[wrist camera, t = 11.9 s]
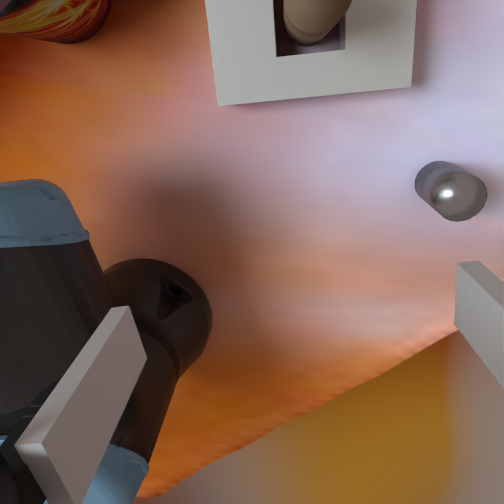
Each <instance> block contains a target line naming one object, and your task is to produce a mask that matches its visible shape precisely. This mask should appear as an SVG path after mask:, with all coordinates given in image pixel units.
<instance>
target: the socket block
mask: <svg viewBox="0 0 504 504" xmlns="http://www.w3.org/2000/svg"><path fill="white" fill-rule="evenodd" d="M205 6H206V14H207V22H208V30H209V38H210V46H211V54H212V62H213V70H214V79H215V87H216V95H217V103H218V106H225V105H235V104H245V103H255V102H265V101H275V100H285V99H295V98H305V97H315V96H326V95H336V94H346V93H356V92H366V91H376V90H386V89H396V88H406V87H411V82H412V67H413V52H414V38H415V23H416V8H417V0H352V2H351V5H350V7H349V9H348V11H347V12H346V14H345V15H344V16H343V17H342V19H341V20H340V50H336V51H327V52H318V53H309V54H300V55H291V56H282V57H277V49H276V33H275V17H274V1H273V0H205Z"/></svg>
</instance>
